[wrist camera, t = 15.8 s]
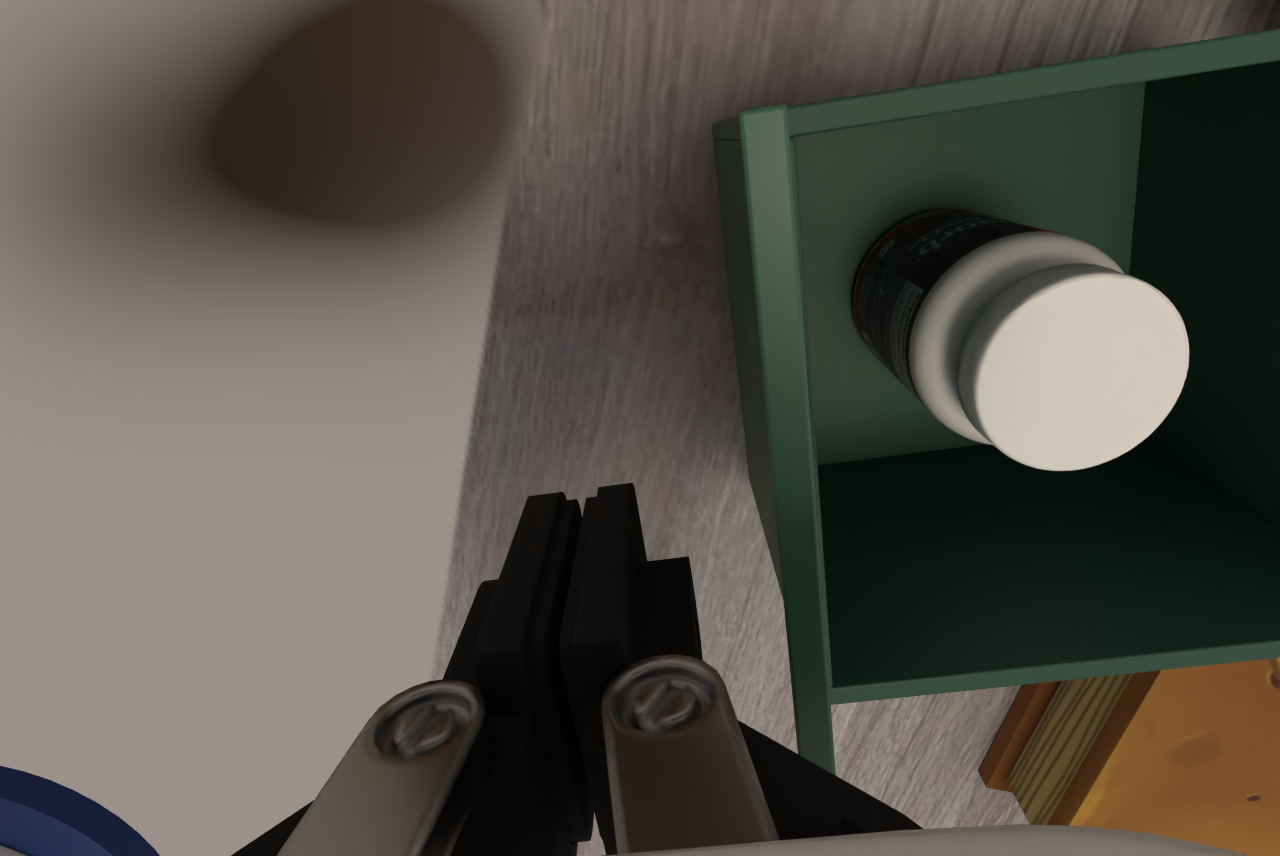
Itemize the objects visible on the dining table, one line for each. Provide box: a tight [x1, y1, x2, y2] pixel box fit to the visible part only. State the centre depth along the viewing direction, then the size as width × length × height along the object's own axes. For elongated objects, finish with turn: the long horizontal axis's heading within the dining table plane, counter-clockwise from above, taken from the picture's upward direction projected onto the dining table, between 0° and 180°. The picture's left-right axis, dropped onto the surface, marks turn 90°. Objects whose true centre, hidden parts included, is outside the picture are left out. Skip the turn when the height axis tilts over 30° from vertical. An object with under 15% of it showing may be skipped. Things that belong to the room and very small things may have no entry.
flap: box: [738, 104, 836, 776], centre depth 11 cm, size 7×13×1 cm
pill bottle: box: [853, 209, 1189, 471], centre depth 21 cm, size 6×6×10 cm
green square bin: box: [712, 28, 1280, 705], centre depth 21 cm, size 14×13×12 cm
